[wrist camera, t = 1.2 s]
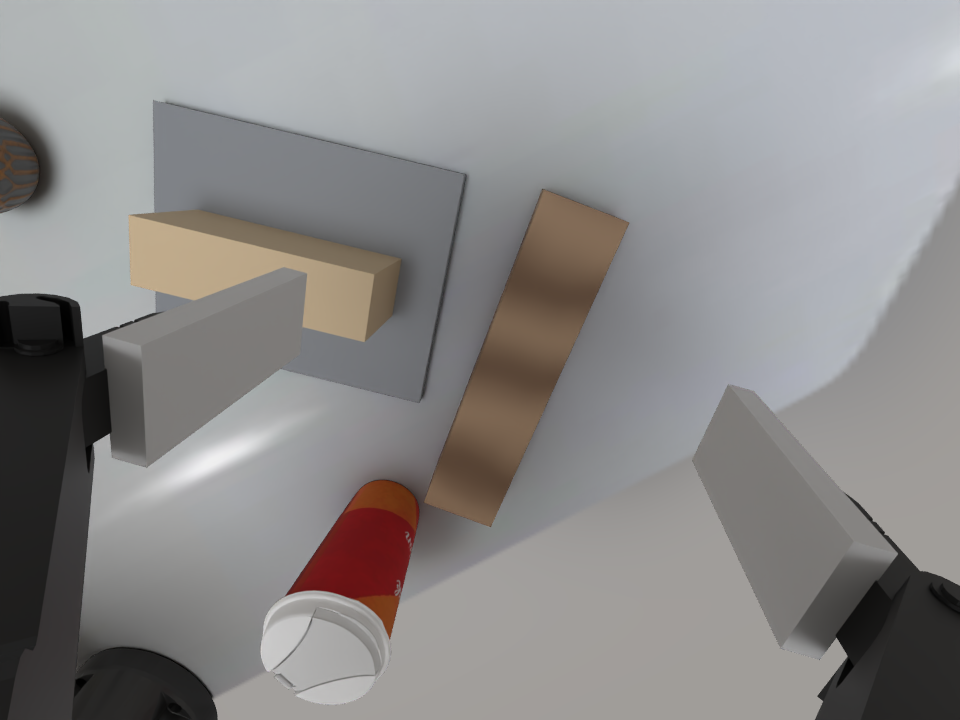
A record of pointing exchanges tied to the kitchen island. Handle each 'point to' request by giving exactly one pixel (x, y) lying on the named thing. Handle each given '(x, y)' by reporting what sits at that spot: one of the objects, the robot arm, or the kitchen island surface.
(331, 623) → the paper cup
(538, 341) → the walnut bar
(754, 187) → the kitchen island surface
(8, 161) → the vase
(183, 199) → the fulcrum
